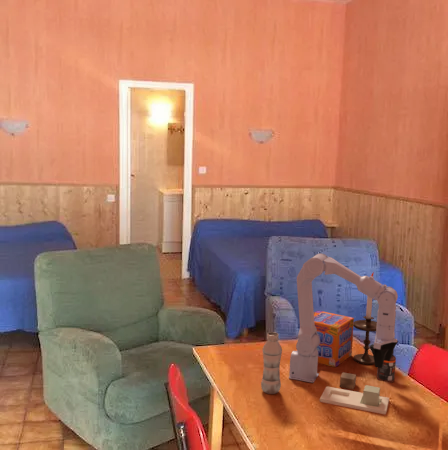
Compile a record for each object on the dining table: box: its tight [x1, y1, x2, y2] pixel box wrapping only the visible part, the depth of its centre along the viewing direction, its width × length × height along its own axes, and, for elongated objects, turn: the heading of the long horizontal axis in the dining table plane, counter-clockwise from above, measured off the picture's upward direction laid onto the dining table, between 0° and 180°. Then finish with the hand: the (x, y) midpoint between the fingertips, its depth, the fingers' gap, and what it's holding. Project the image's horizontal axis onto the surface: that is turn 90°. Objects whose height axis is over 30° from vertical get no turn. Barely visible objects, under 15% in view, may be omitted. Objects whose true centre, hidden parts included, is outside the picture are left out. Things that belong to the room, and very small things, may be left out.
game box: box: [314, 310, 355, 368], centre depth 215 cm, size 16×16×16 cm
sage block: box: [362, 384, 381, 407], centre depth 173 cm, size 4×4×5 cm
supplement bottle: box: [376, 350, 397, 383], centre depth 195 cm, size 6×6×11 cm
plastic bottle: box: [260, 331, 283, 395], centre depth 182 cm, size 6×7×20 cm
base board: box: [319, 386, 390, 415], centre depth 175 cm, size 20×10×2 cm, turn 68°
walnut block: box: [339, 371, 357, 390], centre depth 186 cm, size 4×4×5 cm
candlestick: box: [353, 271, 377, 366], centre depth 211 cm, size 11×11×35 cm
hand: (382, 363), depth 185 cm, fingers open, 7 cm apart
